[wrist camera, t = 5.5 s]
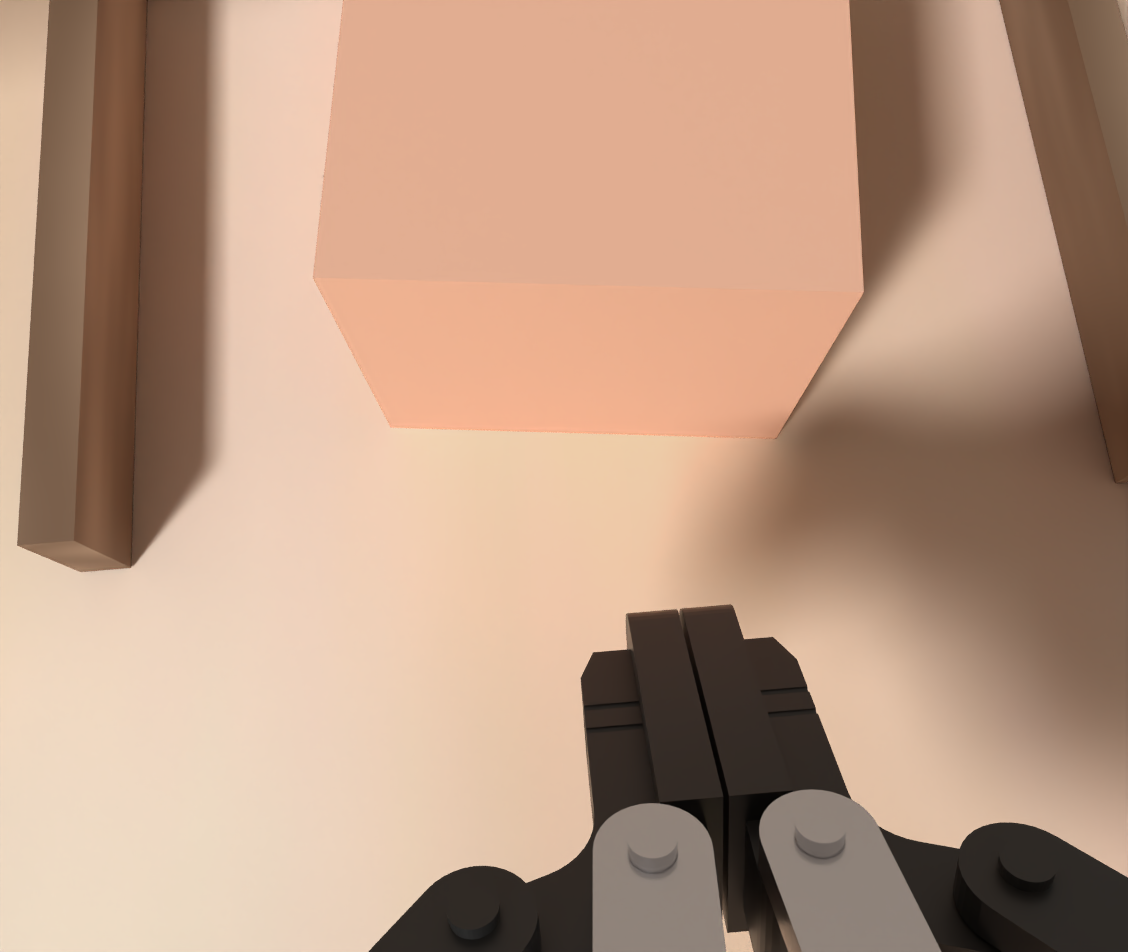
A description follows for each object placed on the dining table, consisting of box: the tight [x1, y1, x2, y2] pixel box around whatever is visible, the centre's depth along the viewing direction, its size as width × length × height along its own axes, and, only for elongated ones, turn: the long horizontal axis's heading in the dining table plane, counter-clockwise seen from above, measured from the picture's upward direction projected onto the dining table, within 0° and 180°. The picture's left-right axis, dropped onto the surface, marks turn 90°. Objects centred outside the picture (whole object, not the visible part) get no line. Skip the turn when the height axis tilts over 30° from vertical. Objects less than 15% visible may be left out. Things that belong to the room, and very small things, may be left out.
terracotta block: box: [313, 0, 864, 439], centre depth 20 cm, size 8×12×7 cm, turn 178°
